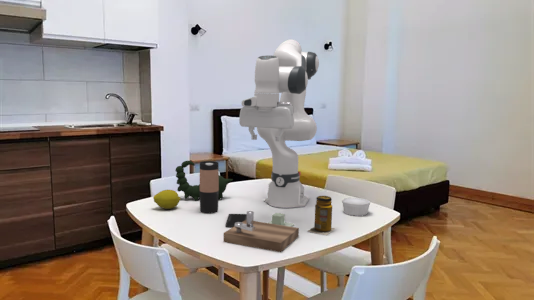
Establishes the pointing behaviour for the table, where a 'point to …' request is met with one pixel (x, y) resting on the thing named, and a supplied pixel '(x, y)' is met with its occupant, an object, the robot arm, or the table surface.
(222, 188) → the toy figurine
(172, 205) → the lemon
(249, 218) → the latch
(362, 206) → the ramekin
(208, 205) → the travel mug
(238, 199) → the table surface
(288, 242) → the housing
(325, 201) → the condiment
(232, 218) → the phone
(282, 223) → the cover
